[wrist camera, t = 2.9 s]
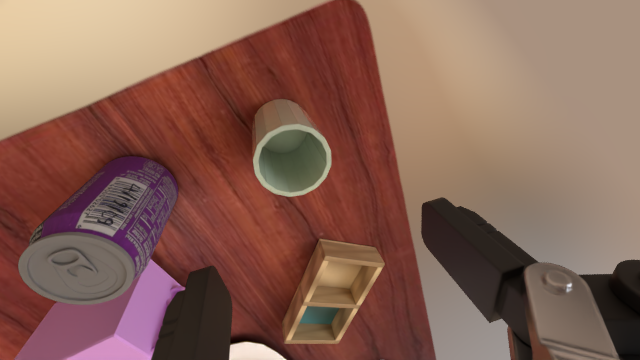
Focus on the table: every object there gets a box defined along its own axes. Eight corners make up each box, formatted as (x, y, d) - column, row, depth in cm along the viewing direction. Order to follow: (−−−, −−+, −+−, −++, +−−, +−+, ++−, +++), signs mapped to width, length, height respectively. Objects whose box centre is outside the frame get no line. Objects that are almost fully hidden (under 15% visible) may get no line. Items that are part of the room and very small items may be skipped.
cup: (261, 90, 26) (265, 113, 19) (317, 109, 28) (342, 137, 21) (246, 146, 29) (244, 187, 21) (299, 160, 31) (315, 202, 23)
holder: (319, 238, 37) (325, 256, 34) (375, 247, 40) (385, 263, 37) (281, 322, 43) (284, 343, 40) (332, 324, 46) (338, 343, 44)
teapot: (172, 238, 32) (132, 343, 21) (221, 287, 37) (209, 391, 26) (20, 312, 32) (-98, 455, 21) (90, 351, 37) (24, 481, 26)
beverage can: (83, 168, 26) (-26, 256, 16) (155, 143, 26) (94, 212, 16) (130, 222, 30) (66, 322, 19) (192, 199, 30) (162, 286, 20)
